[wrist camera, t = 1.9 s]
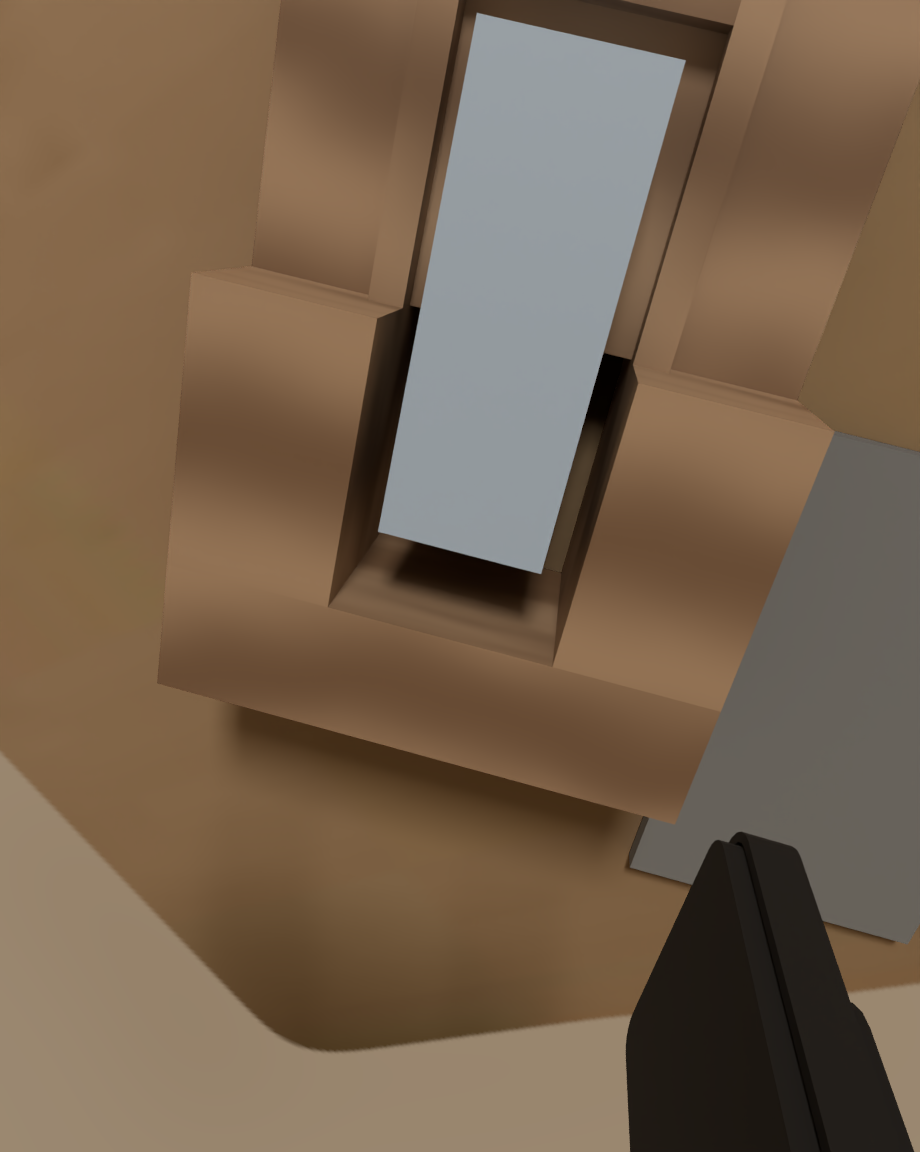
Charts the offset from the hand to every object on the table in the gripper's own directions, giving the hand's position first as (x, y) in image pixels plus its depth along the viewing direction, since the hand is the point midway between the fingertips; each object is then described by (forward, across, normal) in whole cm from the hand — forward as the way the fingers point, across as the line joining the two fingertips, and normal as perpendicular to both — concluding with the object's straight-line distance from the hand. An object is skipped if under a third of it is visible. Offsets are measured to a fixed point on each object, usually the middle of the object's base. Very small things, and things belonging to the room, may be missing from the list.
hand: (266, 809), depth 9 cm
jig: (+21, -1, -3) cm, 21 cm away
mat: (+21, -15, +6) cm, 27 cm away
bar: (+18, 0, -4) cm, 18 cm away
